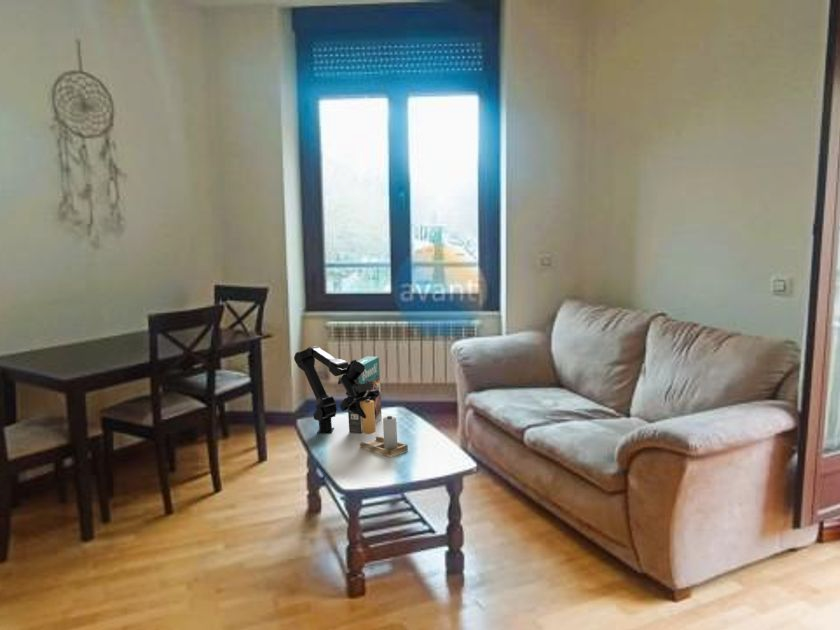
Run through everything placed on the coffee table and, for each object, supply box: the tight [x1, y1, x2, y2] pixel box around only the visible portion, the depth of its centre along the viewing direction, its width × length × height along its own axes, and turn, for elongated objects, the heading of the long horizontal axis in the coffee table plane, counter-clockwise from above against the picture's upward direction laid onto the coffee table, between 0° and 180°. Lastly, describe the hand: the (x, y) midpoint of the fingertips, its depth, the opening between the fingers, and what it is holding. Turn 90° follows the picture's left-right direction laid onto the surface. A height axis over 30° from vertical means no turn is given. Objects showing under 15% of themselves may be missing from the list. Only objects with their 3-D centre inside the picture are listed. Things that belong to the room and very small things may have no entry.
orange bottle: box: [361, 399, 377, 435], centre depth 284 cm, size 5×5×14 cm
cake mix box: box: [346, 355, 383, 435], centre depth 310 cm, size 22×6×30 cm, turn 159°
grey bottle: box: [382, 415, 398, 450], centre depth 276 cm, size 5×5×14 cm
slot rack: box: [359, 435, 409, 459], centre depth 280 cm, size 18×10×2 cm, turn 47°
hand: (370, 416), depth 283 cm, fingers closed on orange bottle, 5 cm apart
